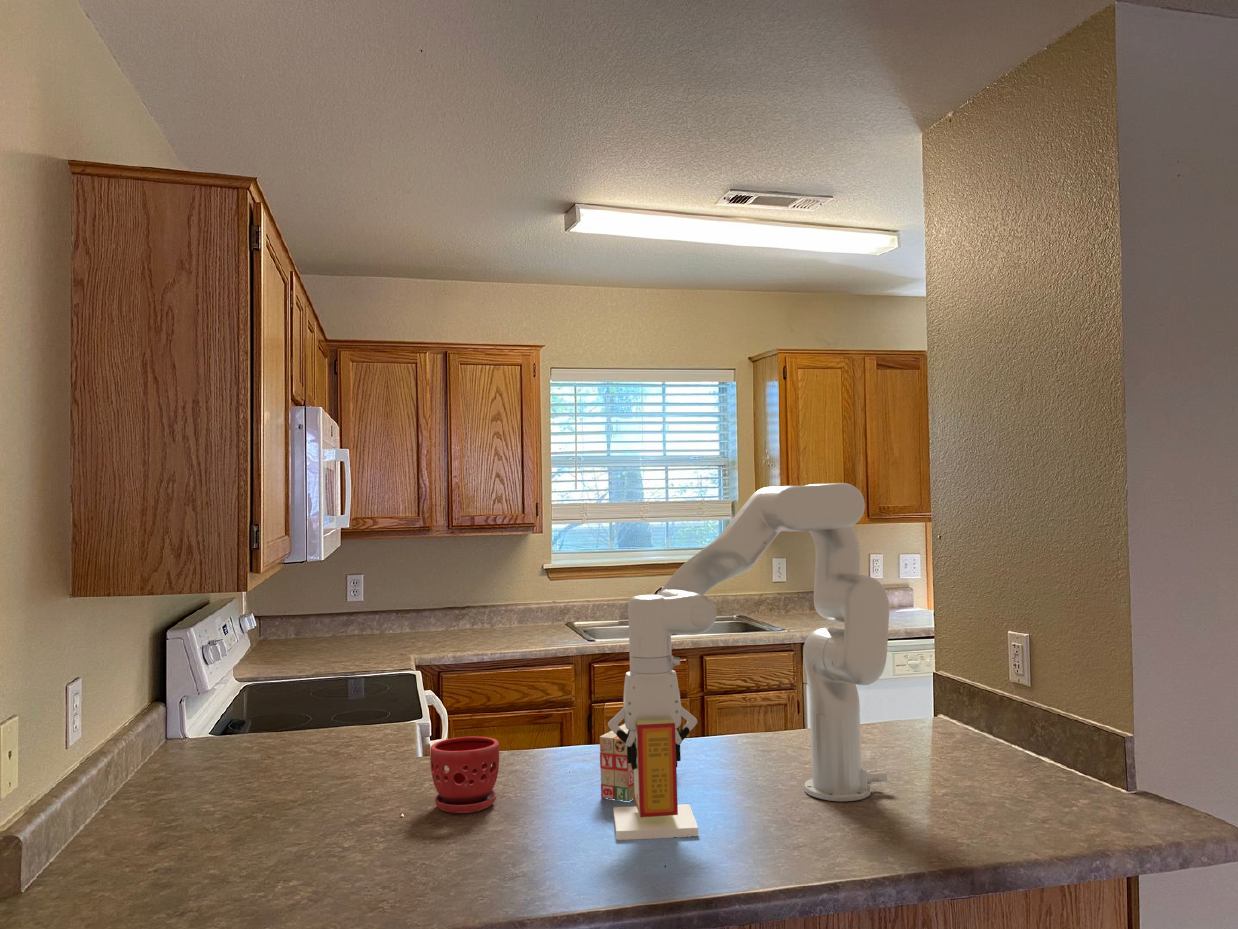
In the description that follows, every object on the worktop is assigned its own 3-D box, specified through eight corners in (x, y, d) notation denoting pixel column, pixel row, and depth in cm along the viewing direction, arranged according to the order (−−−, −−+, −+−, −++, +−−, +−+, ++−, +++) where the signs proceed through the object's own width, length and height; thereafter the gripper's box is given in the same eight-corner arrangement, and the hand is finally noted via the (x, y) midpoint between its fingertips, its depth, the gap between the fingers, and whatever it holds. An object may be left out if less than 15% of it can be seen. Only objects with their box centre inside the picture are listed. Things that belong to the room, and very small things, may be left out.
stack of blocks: (648, 769, 193) (646, 711, 194) (675, 772, 190) (673, 714, 191) (600, 799, 174) (599, 735, 175) (629, 804, 171) (627, 738, 172)
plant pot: (514, 804, 172) (513, 740, 173) (458, 823, 163) (457, 756, 163) (472, 790, 181) (471, 730, 182) (417, 807, 172) (416, 744, 172)
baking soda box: (633, 799, 163) (631, 710, 164) (669, 797, 164) (666, 708, 165) (640, 817, 154) (637, 723, 155) (677, 815, 155) (674, 721, 155)
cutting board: (689, 812, 165) (689, 804, 165) (698, 836, 153) (698, 827, 153) (613, 815, 165) (613, 807, 165) (616, 840, 153) (616, 831, 153)
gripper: (696, 659, 164) (699, 758, 164) (601, 663, 163) (604, 762, 163) (702, 667, 157) (705, 770, 156) (602, 671, 156) (605, 775, 155)
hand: (653, 765), depth 159 cm, fingers closed on baking soda box, 6 cm apart
